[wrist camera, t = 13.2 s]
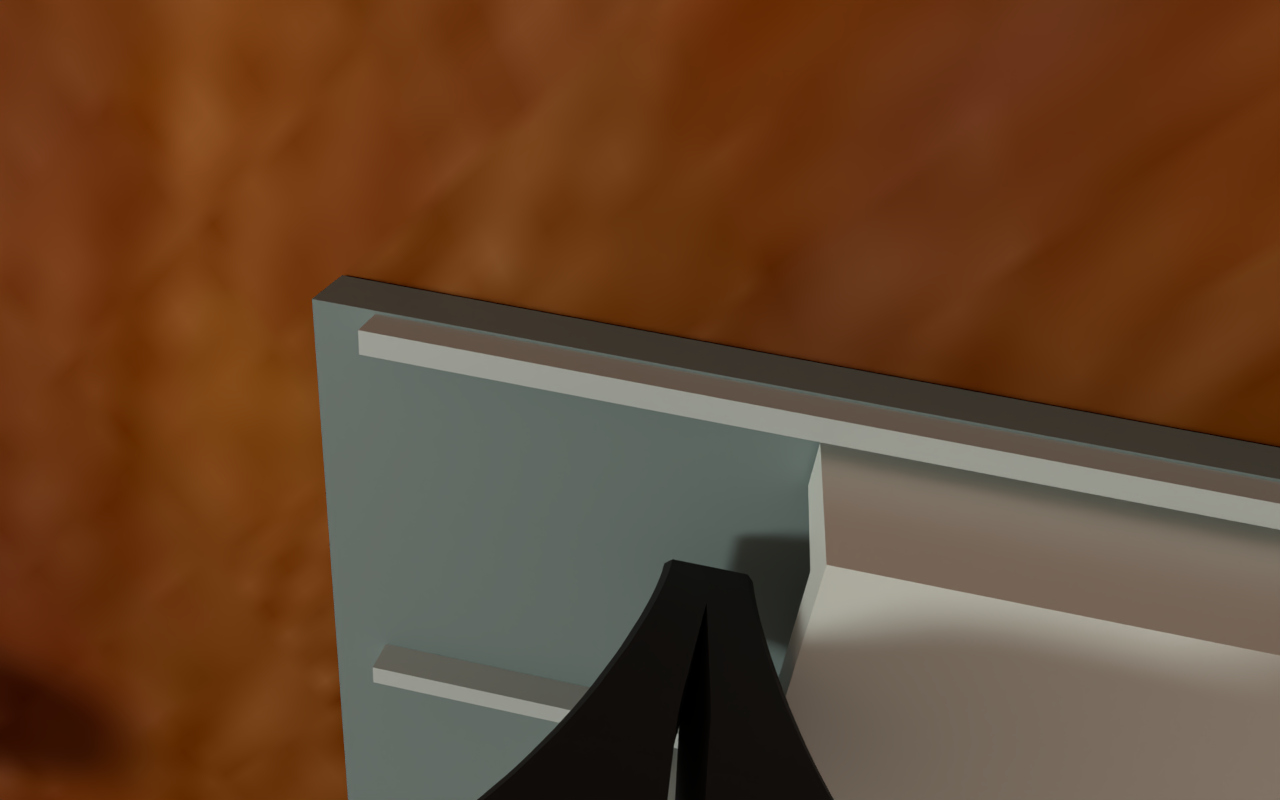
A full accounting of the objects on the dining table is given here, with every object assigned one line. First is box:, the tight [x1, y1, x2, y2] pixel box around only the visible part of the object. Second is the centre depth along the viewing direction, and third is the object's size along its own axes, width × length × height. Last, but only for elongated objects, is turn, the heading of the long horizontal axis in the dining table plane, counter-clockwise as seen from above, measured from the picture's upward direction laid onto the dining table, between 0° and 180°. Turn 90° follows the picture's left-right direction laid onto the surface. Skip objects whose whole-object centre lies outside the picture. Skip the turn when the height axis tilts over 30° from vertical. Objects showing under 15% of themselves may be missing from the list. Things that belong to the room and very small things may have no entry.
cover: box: [779, 442, 1280, 800], centre depth 13 cm, size 6×7×3 cm
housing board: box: [312, 275, 1280, 800], centre depth 17 cm, size 18×16×2 cm
